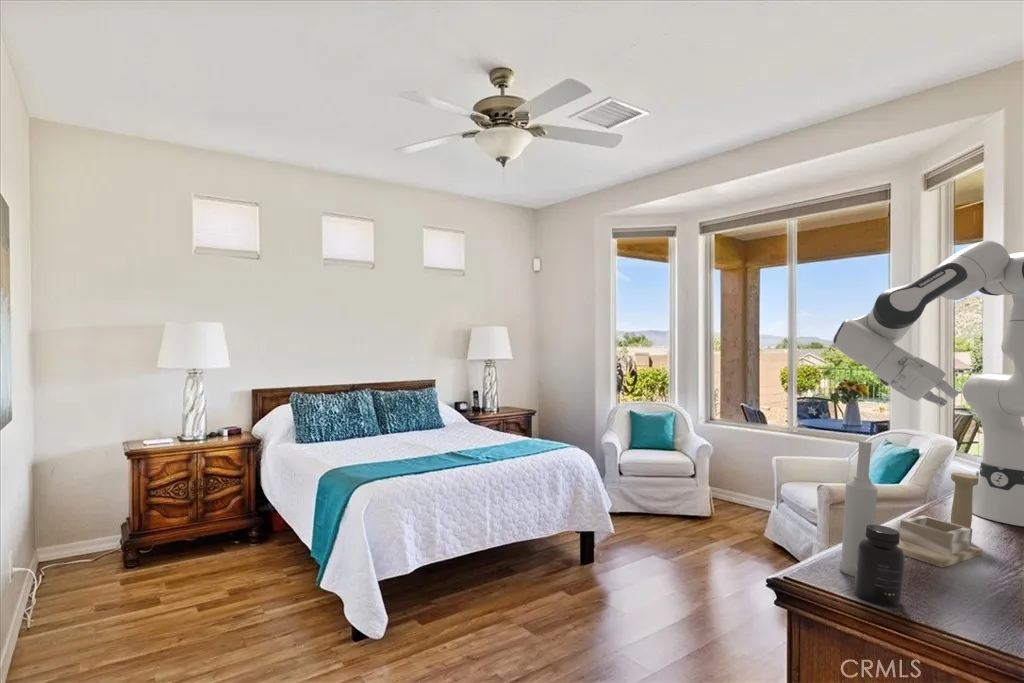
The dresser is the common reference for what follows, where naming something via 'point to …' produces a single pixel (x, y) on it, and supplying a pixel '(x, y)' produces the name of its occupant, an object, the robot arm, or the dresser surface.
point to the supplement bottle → (880, 567)
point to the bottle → (857, 509)
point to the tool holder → (936, 541)
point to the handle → (963, 498)
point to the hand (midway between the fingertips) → (950, 400)
